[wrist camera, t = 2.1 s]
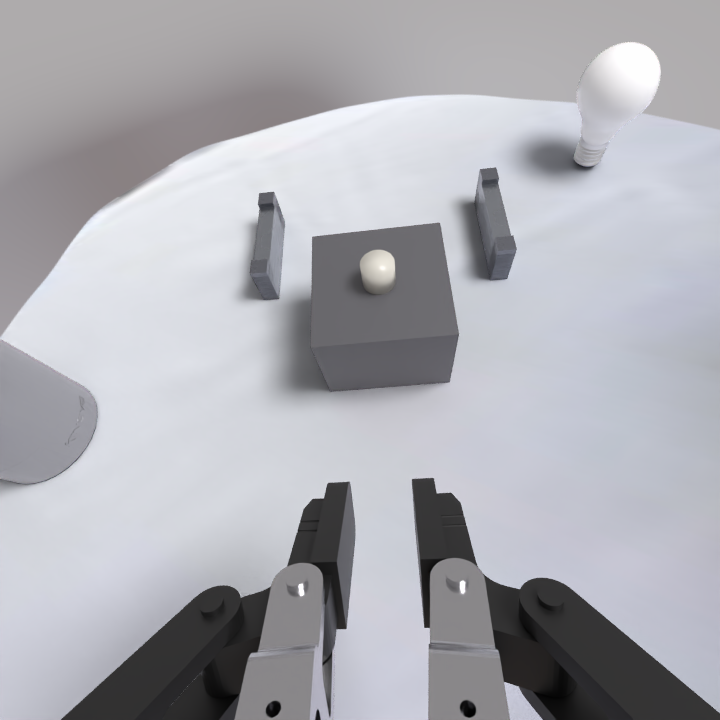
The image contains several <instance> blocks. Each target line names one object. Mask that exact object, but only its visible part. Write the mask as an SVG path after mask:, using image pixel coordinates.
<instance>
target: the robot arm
mask: <svg viewBox="0 0 720 720" xmlns="http://www.w3.org/2000/svg"><path fill="white" fill-rule="evenodd" d="M96 422H97V406H96V402H95V399H94V397H93V396H92V394H91V393H90V391H88V390H87V389H86V388H85V387H83V386H82V385H80V384H78V383H77V382H75V381H73V380H71V379H70V378H68V377H66V376H64V375H63V374H61V373H59V372H57V371H56V370H54V369H52V368H51V367H49V366H47V365H45V364H44V363H42V362H40V361H38V360H37V359H35V358H33V357H31V356H30V355H28V354H26V353H24V352H23V351H21V350H19V349H17V348H16V347H14V346H12V345H10V344H9V343H7V342H5V341H3V340H2V339H0V479H3V480H7V481H12V482H16V483H21V484H32V483H37V482H41V481H45V480H47V479H49V478H52V477H54V476H56V475H58V474H59V473H61V472H62V471H64V470H65V469H67V468H68V467H69V466H70V465H71V464H72V463H73V462H74V461H75V460H77V458H78V457H79V456H80V455H81V453H82V452H83V451H84V450H85V448H86V447H87V445H88V443H89V441H90V440H91V438H92V435H93V433H94V430H95V427H96ZM412 489H413V503H414V518H415V531H416V543H417V553H418V564H419V575H420V585H421V596H422V607H423V617H424V628H430V644H429V711H428V720H510V718H509V711H508V705H507V699H506V692H505V686H504V682H507V683H510V684H513V685H516V686H519V688H520V690H521V692H522V694H523V695H524V697H525V698H526V699H527V701H528V702H529V703H530V704H531V706H532V707H533V708H534V709H535V711H536V712H537V713H538V714H539V715H540V717H541V718H542V719H543V720H720V713H719V712H717V711H716V710H715V709H714V708H713V707H711V706H710V705H709V704H708V703H707V702H705V701H704V700H703V699H702V698H701V697H700V696H698V695H697V694H696V693H695V692H694V691H692V690H691V689H690V688H689V687H688V686H686V685H685V684H684V683H683V682H682V681H680V680H679V679H678V678H677V677H676V676H674V675H673V674H672V673H671V672H670V671H668V670H667V669H666V668H665V667H664V666H663V665H661V664H660V663H659V662H658V661H657V660H655V659H654V658H653V657H652V656H651V655H649V654H648V653H647V652H646V651H645V650H643V649H642V648H641V647H640V646H639V645H637V644H636V643H635V642H634V641H633V640H631V639H630V638H629V637H628V636H627V635H625V634H624V633H623V632H622V631H621V630H620V629H618V628H617V627H616V626H615V625H614V624H612V623H611V622H610V621H609V620H608V619H606V618H605V617H604V616H603V615H602V614H600V613H599V612H598V611H597V610H596V609H594V608H593V607H592V606H591V605H590V604H588V603H587V602H586V601H585V600H584V599H583V598H581V597H580V596H579V595H578V594H577V593H575V592H574V591H573V590H572V589H570V588H569V587H568V586H566V585H565V584H563V583H561V582H558V581H556V580H553V579H548V578H535V579H531V580H529V581H527V582H526V583H524V584H523V586H522V587H521V589H516V588H512V587H507V586H504V585H500V584H498V583H496V582H494V581H492V580H490V579H489V578H487V577H486V576H485V575H484V574H483V573H482V571H481V570H480V569H479V568H478V566H477V563H476V560H475V556H474V553H473V549H472V545H471V541H470V537H469V534H468V530H467V526H466V522H465V518H464V515H463V511H462V507H461V503H460V502H459V501H458V500H457V499H456V498H455V496H454V495H453V494H452V493H439V494H437V493H436V488H435V482H434V478H424V479H412ZM354 546H355V518H354V510H353V502H352V493H351V486H350V482H338V483H328V484H327V488H326V493H325V497H324V499H312V500H311V502H310V503H309V504H308V505H307V506H306V507H305V508H304V510H303V514H302V517H301V521H300V524H299V528H298V533H297V535H296V538H295V541H294V545H293V548H292V552H291V555H290V559H289V562H288V566H287V567H286V568H284V569H283V570H281V571H280V572H279V573H278V574H277V575H276V577H275V578H274V580H273V582H272V585H271V587H270V588H268V589H266V590H264V591H261V592H258V593H255V594H252V595H248V596H245V597H242V598H240V594H239V592H238V591H237V590H236V589H235V588H233V587H230V586H216V587H212V588H210V589H207V590H205V591H203V592H202V593H200V594H199V595H198V596H197V597H195V598H194V599H193V600H192V601H191V602H190V603H189V604H188V605H186V606H185V607H184V608H183V609H182V610H181V611H180V612H179V613H178V614H177V615H175V616H174V617H173V618H172V619H171V620H170V621H169V622H168V623H167V624H166V625H164V626H163V627H162V628H161V629H160V630H159V631H158V632H157V633H156V634H155V635H154V636H152V637H151V638H150V639H149V640H148V641H147V642H146V643H145V644H144V645H143V646H141V647H140V648H139V649H138V650H137V651H136V652H135V653H134V654H133V655H132V656H130V657H129V658H128V659H127V660H126V661H125V662H124V663H123V664H122V665H121V666H119V667H118V668H117V669H116V670H115V671H114V672H113V673H112V674H111V675H110V676H108V677H107V678H106V679H105V680H104V681H103V682H102V683H101V684H100V685H99V686H97V687H96V688H95V689H94V690H93V691H92V692H91V693H90V694H89V695H88V696H86V697H85V698H84V699H83V700H82V701H81V702H80V703H79V704H78V705H77V706H75V707H74V708H73V709H72V710H71V711H70V712H69V713H68V714H67V715H66V716H64V717H63V718H62V719H61V720H234V719H235V720H334V670H335V652H334V644H335V637H336V629H346V628H347V617H348V607H349V597H350V587H351V577H352V566H353V556H354ZM194 679H195V680H194ZM193 680H194V681H193ZM192 681H193V682H192ZM191 682H192V683H191ZM184 690H185V691H184ZM183 691H184V692H183ZM182 692H183V693H182ZM181 693H182V694H181ZM180 694H181V695H180ZM173 702H174V703H173ZM172 703H173V704H172ZM171 704H172V705H171ZM170 705H171V706H170Z"/></svg>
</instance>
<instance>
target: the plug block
mask: <svg viewBox="0 0 720 720" xmlns="http://www.w3.org/2000/svg"><path fill="white" fill-rule="evenodd" d="M458 336H459V332H458V326H457V320H456V314H455V308H454V303H453V297H452V291H451V285H450V279H449V273H448V267H447V261H446V256H445V250H444V244H443V238H442V232H441V226H440V223H432V224H423V225H414V226H405V227H396V228H387V229H378V230H369V231H360V232H351V233H342V234H333V235H324V236H315V237H312V293H311V349H312V352H313V354H314V356H315V358H316V361H317V363H318V365H319V367H320V369H321V372H322V374H323V376H324V378H325V381H326V383H327V385H328V387H329V390H330V392H333V391H346V390H358V389H371V388H383V387H396V386H408V385H420V384H433V383H445V382H450V378H451V373H452V367H453V362H454V357H455V352H456V347H457V342H458Z"/></svg>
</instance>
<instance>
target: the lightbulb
mask: <svg viewBox="0 0 720 720" xmlns="http://www.w3.org/2000/svg"><path fill="white" fill-rule="evenodd" d="M660 77H661V68H660V63H659V60H658V58H657V56H656V54H655V53H654V52H653V51H652V50H651V49H650V48H649V47H647V46H646V45H643V44H641V43H636V42H624V43H620V44H616V45H614V46H611V47H609V48H607V49H606V50H604V51H603V52H601V53H600V54H599V55H597V56H596V57H595V58H594V59H593V60H592V61H591V62H590V64H589V65H588V66H587V68H586V69H585V71H584V72H583V74H582V76H581V79H580V81H579V84H578V88H577V106H578V110H579V113H580V115H581V118H582V123H581V137H580V140H579V144H578V145H577V148H576V151H575V153H574V160H575V161H576V162H577V163H578V164H580V165H582V166H594V165H597V164H598V163H599V162H600V161H601V158H602V157H603V154H604V152H605V150H606V147H607V146H608V144H609V141H611V140H612V139H613V138H614V137H615V135H616V134H617V133H618V131H619V130H620V129H621V128H622V127H623V126H624V125H626V124H627V123H629V122H630V121H632V120H633V119H635V118H636V117H637V116H638V115H640V114H641V113H642V112H643V111H644V110H645V109H646V108H647V106H648V105H649V104H650V102H651V101H652V99H653V98H654V96H655V94H656V92H657V89H658V87H659V83H660Z"/></svg>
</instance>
